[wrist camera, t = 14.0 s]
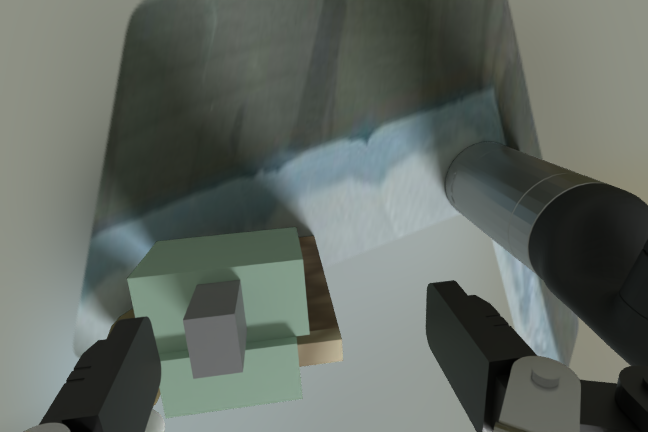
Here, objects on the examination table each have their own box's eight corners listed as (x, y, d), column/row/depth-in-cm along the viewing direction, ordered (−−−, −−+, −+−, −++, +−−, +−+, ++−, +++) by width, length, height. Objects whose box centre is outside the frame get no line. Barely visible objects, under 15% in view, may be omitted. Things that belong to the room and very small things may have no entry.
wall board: (314, 235, 51) (341, 339, 32) (317, 287, 53) (345, 410, 35) (167, 250, 49) (107, 369, 31) (178, 303, 52) (128, 442, 33)
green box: (296, 226, 38) (309, 289, 25) (306, 333, 41) (322, 437, 28) (156, 241, 37) (98, 314, 24) (177, 350, 40) (134, 465, 27)
